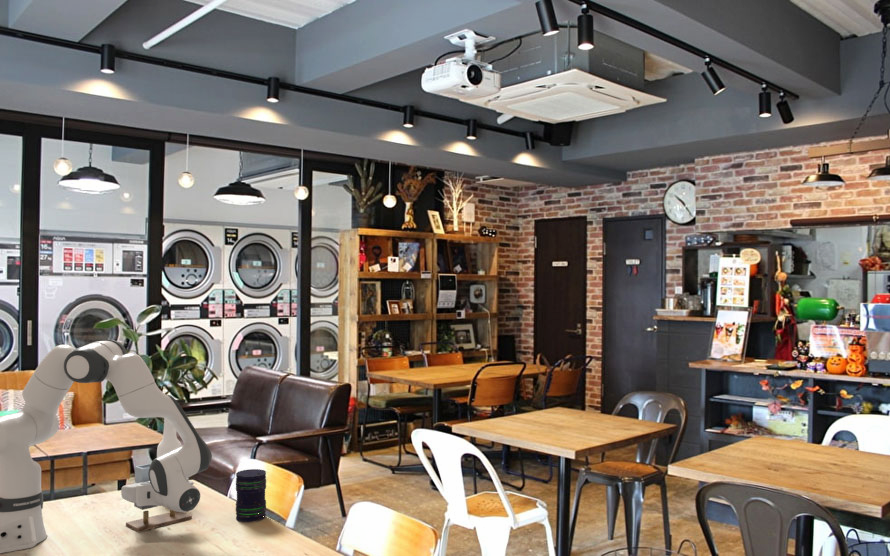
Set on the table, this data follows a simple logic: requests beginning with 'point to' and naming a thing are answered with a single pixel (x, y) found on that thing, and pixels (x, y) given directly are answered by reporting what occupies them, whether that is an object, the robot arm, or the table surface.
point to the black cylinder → (250, 495)
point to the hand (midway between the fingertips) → (145, 482)
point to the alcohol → (168, 439)
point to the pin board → (157, 520)
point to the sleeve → (142, 480)
